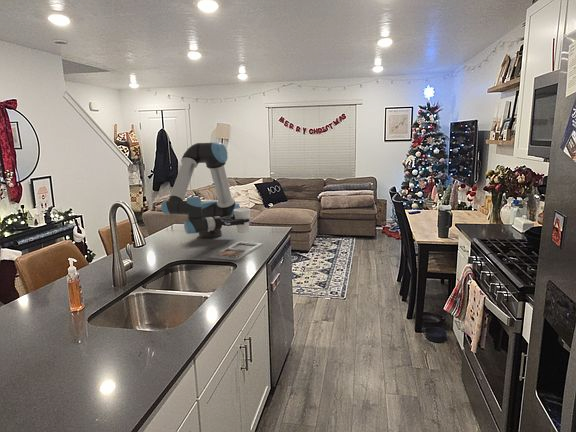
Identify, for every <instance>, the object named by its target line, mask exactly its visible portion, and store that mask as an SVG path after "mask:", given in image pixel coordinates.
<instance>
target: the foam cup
mask: <svg viewBox="0 0 576 432" xmlns="http://www.w3.org/2000/svg"><path fill="white" fill-rule="evenodd" d="M234 215H235V219H243V218H249V217H251V208H247V207H240V208H238V209H234ZM236 230H237V233H240V234H245V233H249V230H250V222H249V223H244V225H243V224H242V225H236Z"/></svg>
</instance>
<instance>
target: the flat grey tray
mask: <svg viewBox="0 0 576 432" xmlns="http://www.w3.org/2000/svg"><path fill="white" fill-rule="evenodd" d="M239 244H240V245H242V244H245V246H252V247H251V248H249V249H247V248H246V249H245V248H236V247H237V245H238V246H239ZM254 245H255V246H254ZM262 246H263V243H262V242H261V243H260V242H252V241H237V242H235V243H233V244H231V245H230V246H227V247H226V248H223V249H221V250H220V251H218V252H216V253H214V254H212V255H210V258H211V259H216V260H217V259H218V260H229V261H239V260H241V259H242V258H244V257H246V256H247V255H249V254H251V253H253V251H255V250H257V249H259V248H260V247H262Z"/></svg>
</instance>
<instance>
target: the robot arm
mask: <svg viewBox="0 0 576 432" xmlns="http://www.w3.org/2000/svg"><path fill="white" fill-rule="evenodd" d="M228 159H229V157H228V150H227V148H226V146H225V144H224V143H222V142H217V141H215V142H198V143H194V144H192V145H191V146H189V147H188V148H187V149H186V151H185V152H184V153H183V155H182V157H181V159H180V163H181V165H180V167H179V171H178V173H177V177H176V178H175V181H174V184H173V187H172V189H171V191H170V195H169V197H168V199H167V200H163V202H162V203H161V205H160V209H161V211H162V213H163V214H165V215H181V216H182V215H185V216H187V220H185V221H184V223H183V227H184V232H185V233H186V234H189V235H191V234H198V237H199V238H201V239H216V238H219V237H221V236H223V233H222V227H223V226H224V227H226V226H227V227H232V226H237V225H242V224H243V225H244V223H249V224H250V223H253V222H254V221H255V220H254V219H255V217H254V216H250V217H249V218H243V219H235V215H234V209H238V208H241V207H240V206H241V205H240V203H238V202H236V199H235V198H233V197H232V193H231V191H230V185H229V181H228V177H227V173H226V168H225V166H226V163H227V161H228ZM202 163H203V164H205V166H206V168H207V169H209V171H210V175H211V179H212V182H213V186H214V189H215V194H216V196H217V200H215V199H213V200H207V201H203V202H202V199H201V197H199V196H190V197H187V198H186V200H184V199H185V196H186V194H187V191H188V187H189V185H190V182H191V180H192V177H193V173H194V171H195V169H196V168H198V165H199V164H202Z"/></svg>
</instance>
